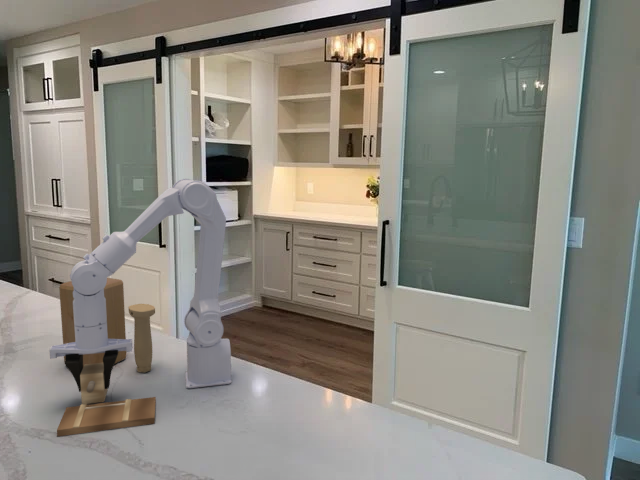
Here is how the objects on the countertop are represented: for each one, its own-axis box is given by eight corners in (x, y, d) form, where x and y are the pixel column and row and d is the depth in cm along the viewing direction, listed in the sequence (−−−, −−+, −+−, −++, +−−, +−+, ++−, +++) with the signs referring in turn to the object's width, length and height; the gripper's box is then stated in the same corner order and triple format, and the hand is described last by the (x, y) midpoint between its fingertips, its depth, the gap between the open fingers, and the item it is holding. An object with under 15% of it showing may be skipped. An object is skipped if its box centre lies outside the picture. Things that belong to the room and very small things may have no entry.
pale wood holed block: (107, 389, 97) (106, 362, 96) (102, 408, 90) (100, 378, 89) (86, 392, 96) (84, 364, 95) (79, 410, 89) (77, 380, 88)
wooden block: (62, 367, 109) (56, 283, 106) (97, 351, 118) (93, 274, 115) (95, 375, 105) (90, 288, 102) (128, 358, 115) (124, 278, 111)
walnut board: (155, 402, 94) (155, 395, 94) (154, 423, 87) (154, 416, 87) (66, 413, 90) (66, 406, 89) (57, 436, 82) (56, 429, 82)
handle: (142, 378, 105) (140, 313, 102) (126, 369, 108) (123, 307, 106) (161, 370, 108) (159, 308, 106) (145, 363, 112) (143, 302, 110)
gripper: (132, 313, 97) (135, 375, 100) (53, 318, 93) (58, 383, 95) (129, 324, 91) (132, 390, 93) (44, 330, 86) (50, 399, 89)
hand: (94, 387), depth 94 cm, fingers closed on pale wood holed block, 4 cm apart
